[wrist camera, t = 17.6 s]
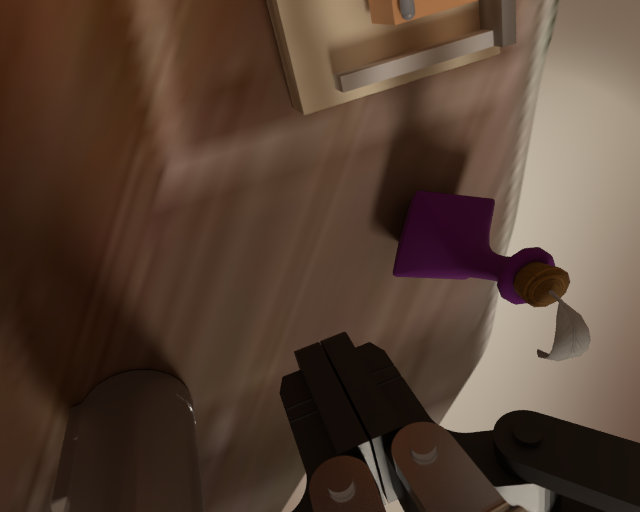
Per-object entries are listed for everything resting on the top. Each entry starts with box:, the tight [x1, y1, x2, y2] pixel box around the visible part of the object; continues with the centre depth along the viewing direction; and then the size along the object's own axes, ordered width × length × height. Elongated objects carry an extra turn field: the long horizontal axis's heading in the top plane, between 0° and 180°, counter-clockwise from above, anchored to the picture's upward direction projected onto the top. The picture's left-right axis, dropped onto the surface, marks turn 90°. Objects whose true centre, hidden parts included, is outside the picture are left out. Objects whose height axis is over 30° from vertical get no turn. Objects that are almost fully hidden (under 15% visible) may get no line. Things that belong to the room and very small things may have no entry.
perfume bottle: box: [393, 191, 590, 361], centre depth 35 cm, size 8×8×18 cm
